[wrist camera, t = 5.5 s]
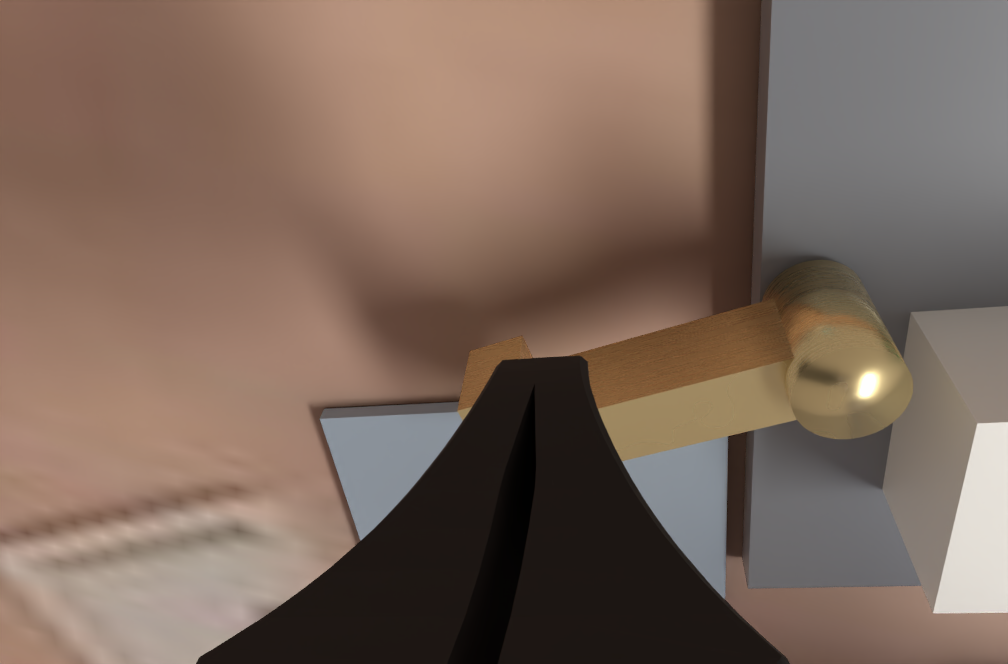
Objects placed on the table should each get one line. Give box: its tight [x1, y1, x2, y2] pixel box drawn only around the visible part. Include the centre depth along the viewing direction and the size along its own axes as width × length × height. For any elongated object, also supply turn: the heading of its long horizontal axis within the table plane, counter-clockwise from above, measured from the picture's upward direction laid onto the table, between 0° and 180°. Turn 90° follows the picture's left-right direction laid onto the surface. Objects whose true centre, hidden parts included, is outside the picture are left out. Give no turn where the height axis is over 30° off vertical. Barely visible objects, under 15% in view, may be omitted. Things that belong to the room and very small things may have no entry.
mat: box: [320, 402, 728, 599], centre depth 22 cm, size 8×10×1 cm
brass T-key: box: [457, 260, 913, 461], centre depth 16 cm, size 8×3×3 cm, turn 113°
